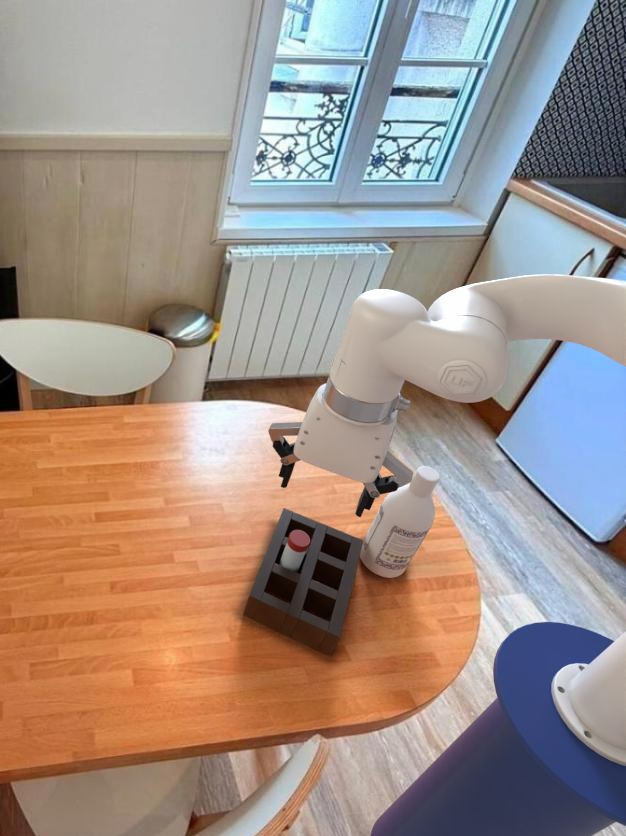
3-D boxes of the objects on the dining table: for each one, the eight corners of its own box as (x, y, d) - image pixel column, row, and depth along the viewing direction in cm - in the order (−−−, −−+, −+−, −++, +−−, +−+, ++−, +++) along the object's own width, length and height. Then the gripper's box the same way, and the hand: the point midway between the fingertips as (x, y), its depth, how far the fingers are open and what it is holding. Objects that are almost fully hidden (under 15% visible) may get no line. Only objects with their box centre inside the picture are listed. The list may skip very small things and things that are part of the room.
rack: (354, 559, 96) (363, 540, 92) (329, 656, 83) (339, 637, 80) (276, 527, 100) (283, 507, 97) (242, 614, 87) (249, 595, 84)
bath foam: (414, 572, 94) (468, 485, 82) (378, 584, 92) (427, 498, 80) (384, 537, 99) (430, 450, 87) (349, 548, 97) (391, 461, 85)
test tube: (295, 575, 93) (312, 535, 87) (290, 590, 91) (307, 549, 85) (277, 567, 94) (292, 526, 88) (272, 581, 92) (287, 541, 86)
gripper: (443, 401, 69) (395, 500, 80) (292, 355, 75) (266, 453, 86) (437, 441, 64) (386, 542, 74) (275, 388, 70) (249, 488, 80)
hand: (321, 494), depth 80 cm, fingers open, 9 cm apart
